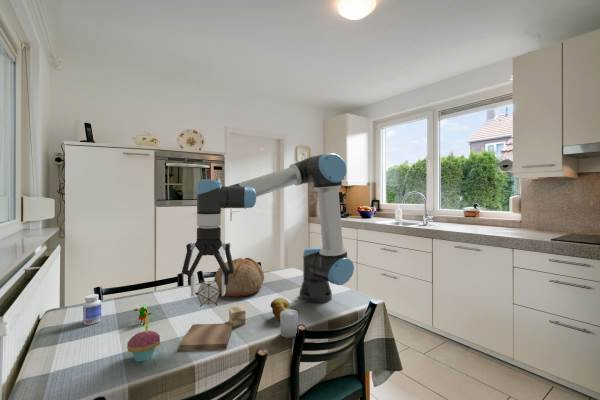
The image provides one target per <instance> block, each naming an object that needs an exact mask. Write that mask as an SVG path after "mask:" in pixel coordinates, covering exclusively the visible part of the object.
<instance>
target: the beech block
mask: <svg viewBox="0 0 600 400" xmlns="http://www.w3.org/2000/svg"><path fill="white" fill-rule="evenodd" d="M228 323H233V327H236V326H242V325H246V309H245V308H244V306H242V305H239V306H232V307H229V308H228Z"/></svg>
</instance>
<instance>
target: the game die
mask: <svg viewBox="0 0 600 400" xmlns="http://www.w3.org/2000/svg"><path fill="white" fill-rule="evenodd" d="M216 281H217V279H216ZM216 281H214V280H213V281H212V280H211V281H210V280H209V281H203V280H202V279H200V283H201V284H200V286H199V288H198V290H197V292H195V295H196V296H197V297H198V299H199V302H200V305H199V307H200V308H201V307H203V305H204V306H205V305H215V306H218V302H217V301H218V299H219V296H220V295H221V294H220V293H221V292H222V290H221V291H220V289H219V287H218V285H217V283H216Z"/></svg>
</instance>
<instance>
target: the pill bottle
mask: <svg viewBox="0 0 600 400" xmlns="http://www.w3.org/2000/svg"><path fill="white" fill-rule="evenodd" d="M84 301H85V302H84V303H83V305H82V312H83V313H82V314H83V315H82V317H83V320H82V321H83V325H85V326H88V325H89V326H90V325H95V324H98V323H100V322H101V321H102V301H101V299H99V294H98V293H93V294H88V295H86V296H85V297H84Z"/></svg>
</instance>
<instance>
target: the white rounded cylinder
mask: <svg viewBox="0 0 600 400" xmlns="http://www.w3.org/2000/svg"><path fill="white" fill-rule="evenodd" d="M279 321H280V335H281V336H282V337H283V338H287V339H291V338H295V337H297V336H296V333H297V327H298V328H299V315H298V311H297V310H295V309H290V310H284V311H282V312H281V313H280V320H279Z"/></svg>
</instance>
